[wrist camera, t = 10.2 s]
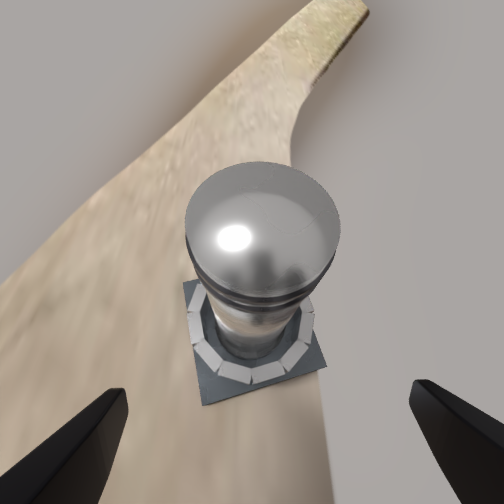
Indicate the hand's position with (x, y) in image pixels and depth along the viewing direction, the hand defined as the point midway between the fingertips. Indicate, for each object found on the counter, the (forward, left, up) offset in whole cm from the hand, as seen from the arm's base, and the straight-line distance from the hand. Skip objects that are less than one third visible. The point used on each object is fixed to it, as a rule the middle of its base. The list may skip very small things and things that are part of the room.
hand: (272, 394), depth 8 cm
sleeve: (+5, -1, -10) cm, 11 cm away
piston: (+4, -1, -10) cm, 11 cm away
